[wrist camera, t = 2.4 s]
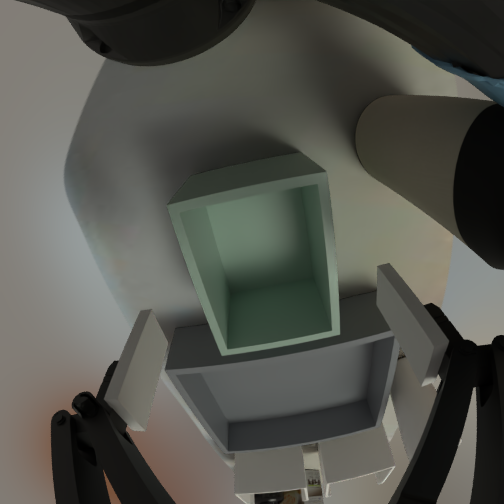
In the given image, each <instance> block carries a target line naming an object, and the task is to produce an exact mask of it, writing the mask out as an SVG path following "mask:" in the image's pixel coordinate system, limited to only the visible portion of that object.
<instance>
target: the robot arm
mask: <svg viewBox="0 0 504 504" xmlns="http://www.w3.org/2000/svg"><path fill="white" fill-rule="evenodd" d="M16 1H20V2H24V3H27V4H31V5H34V6H38V7H40V8H44V9H47V10H50V11H53V12H55V13H59V14H62V15H64V16H66V17H67V19H68V20H69V22H70V23H71V25H72V26H73V28H74V29H75V31H76V32H77V34H78V35H79V37H80V38H81V39H82V41H83V42H84V43H85V44H86V45H87V46H88V47H89V48H91V49H92V50H93V51H95V52H96V53H98V54H100V55H102V56H103V57H106V58H108V59H111V60H115V61H118V62H121V63H124V64H128V65H134V66H158V65H165V64H170V63H175V62H179V61H182V60H185V59H188V58H191V57H193V56H196V55H198V54H200V53H202V52H204V51H206V50H208V49H210V48H212V47H213V46H215V45H216V44H218V43H220V42H221V41H222V40H224V39H225V38H226V37H228V36H229V35H230V34H231V33H232V32H233V31H234V30H235V29H237V28H238V26H239V25H240V24H241V23H242V22H243V21H244V20H245V18H246V17H247V15H248V14H249V12H250V11H251V9H252V7H253V5H254V3H255V1H256V0H16ZM317 1H319V2H322V3H325V4H328V5H330V6H333V7H336V8H338V9H341V10H343V11H346V12H348V13H350V14H353V15H355V16H357V17H360V18H362V19H364V20H366V21H368V22H370V23H372V24H375V25H377V26H379V27H381V28H383V29H385V30H386V31H388V32H390V33H392V34H394V35H395V36H397V37H399V38H401V39H402V40H404V41H406V42H407V43H409V44H411V46H412V48H413V49H414V50H415V51H417V52H418V53H419V54H420V55H422V56H423V57H425V58H426V59H428V60H429V61H430V62H432V63H434V64H435V65H436V66H438V67H440V68H442V69H444V70H446V71H448V72H450V73H453V74H455V75H458V76H460V77H462V78H464V79H465V80H467V81H468V82H470V83H471V84H472V85H474V86H475V87H476V88H477V89H479V90H480V91H481V92H482V93H484V94H485V95H486V96H488V97H489V98H490V99H492V100H493V101H495V102H496V103H498V104H499V105H501V106H503V107H504V0H317ZM376 305H377V306H378V308H379V310H380V312H381V313H382V315H383V317H384V318H385V320H386V322H387V324H388V325H389V327H390V329H391V331H392V332H393V334H394V336H395V338H396V340H397V341H398V343H399V345H400V347H401V349H402V350H403V352H404V354H405V356H406V358H407V360H408V362H409V364H410V365H411V367H412V369H413V371H414V373H415V375H416V377H417V379H418V381H419V383H420V385H421V387H422V386H425V385H427V384H430V383H432V382H435V380H436V377H437V375H438V374H439V376H440V378H441V382H440V384H439V387H438V389H437V391H436V392H437V395H436V398H435V401H434V404H433V407H432V410H431V413H430V415H429V418H428V421H427V423H426V426H425V429H424V431H423V434H422V436H421V439H420V441H419V443H418V446H417V448H416V450H415V453H414V455H413V457H412V459H411V461H410V464H409V466H408V468H407V470H406V472H405V474H404V476H403V478H402V480H401V482H400V484H399V485H398V487H397V489H396V491H395V493H394V495H393V496H392V498H391V500H390V502H389V503H388V504H436V502H437V499H438V496H439V494H440V492H441V490H442V487H443V485H444V483H445V480H446V478H447V475H448V473H449V470H450V468H451V465H452V462H453V460H454V457H455V454H456V451H457V448H458V445H459V442H460V439H461V435H462V432H463V428H464V425H465V421H466V417H467V413H468V409H469V405H470V401H471V396H472V391H473V388H474V387H476V401H477V442H476V459H475V471H474V480H473V488H472V495H471V500H470V504H504V335H499V336H496V337H495V338H494V339H493V341H492V344H488V345H480V346H477V345H476V344H475V343H474V342H473V341H470V340H464V339H463V338H462V336H461V335H460V334H459V332H458V331H457V330H456V328H455V327H454V326H453V324H452V323H451V322H450V321H449V320H448V318H447V317H446V316H445V315H444V313H443V312H442V310H441V309H440V308H439V307H437V306H436V305H434V304H433V303H429V304H426V305H422V303H421V302H420V301H419V299H418V298H417V297H416V295H415V294H414V293H413V292H412V290H411V289H410V288H409V287H408V285H407V284H406V283H405V282H404V280H403V279H402V278H401V277H400V275H399V274H398V273H397V272H396V271H395V269H394V268H393V267H392V266H391V265H390V263H387V264H383V265H379V266H377V301H376ZM167 346H168V341H167V339H166V337H165V335H164V333H163V331H162V329H161V327H160V325H159V323H158V321H157V319H156V317H155V315H154V313H153V311H152V309H150V310H143V311H140V313H139V315H138V318H137V320H136V322H135V324H134V327H133V329H132V331H131V333H130V336H129V338H128V341H127V343H126V345H125V347H124V350H123V352H122V354H121V357H120V359H119V361H114V362H113V363H112V364H111V365H110V366H109V368H108V370H107V372H106V374H105V377H104V379H103V382H102V384H101V386H100V389H99V392H98V394H97V396H96V398H95V397H94V396H93V395H92V394H91V393H90V392H82V393H79V394H78V395H77V396H76V397H75V398H74V399H73V402H72V408H73V409H74V411H75V412H76V413H77V414H75V415H70V414H69V412H68V411H66V410H60V411H58V412H57V413H55V414H54V416H53V417H52V420H51V450H52V451H51V452H52V470H53V482H54V491H55V499H56V504H111V502H110V499H109V494H108V490H107V486H106V482H105V477H104V472H105V474H106V476H107V478H108V480H109V482H110V483H111V485H112V487H113V489H114V491H115V493H116V494H117V497H118V498H119V500H120V502H121V504H176V503H175V502H174V501H173V499H172V498H171V497H170V495H169V494H168V493H167V491H166V490H165V489H164V487H163V486H162V485H161V483H160V482H159V481H158V479H157V478H156V476H155V475H154V473H153V472H152V470H151V469H150V467H149V466H148V464H147V463H146V461H145V460H144V458H143V457H142V455H141V453H140V452H139V450H138V449H137V447H136V446H135V444H134V442H133V440H132V439H131V437H130V435H129V433H128V432H127V431H126V427H127V425H128V426H129V427H130V428H131V429H132V430H133V431H146V428H147V424H148V419H149V415H150V411H151V407H152V403H153V399H154V395H155V391H156V387H157V383H158V380H159V376H160V372H161V368H162V365H163V361H164V357H165V354H166V350H167ZM103 470H104V472H103Z"/></svg>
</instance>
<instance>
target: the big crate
mask: <svg viewBox="0 0 504 504" xmlns="http://www.w3.org/2000/svg"><path fill="white" fill-rule="evenodd" d="M376 301H377V291H374V292H370V293H365V294H361V295H357V296H353V297H348V298H344V299H340V300H339V313H340V335H336V336H331V337H327V338H322V339H318V340H313V341H308V342H303V343H298V344H293V345H288V346H282V347H277V348H271V349H265V350H259V351H252V352H246V353H239V354H232V355H225V356H222V355H221V353H220V350H219V348H218V345H217V343H216V341H215V338H214V336H213V333H212V331H211V328H210V326H209V324H204V325H197V326H190V327H182V328H176V329H175V333H174V337H173V340H172V344H171V348H170V352H169V355H168V359H167V363H166V367H165V371H166V373H167V375H168V376H169V378H170V379H171V381H172V382H173V384H174V385H175V387H176V389H177V390H178V392H179V393H180V395H181V396H182V398H183V399H184V400H185V402H186V403H187V405H188V406H189V408H190V409H191V411H192V412H193V413H194V415H195V416H196V418H197V419H198V420H199V422H200V423H201V425H202V426H203V427H204V429H205V430H206V431H207V433H208V434H209V435H210V437H211V438H212V439H213V440H214V442H215V443H216V444H217V446H218V447H219V448H220V449H221V451H222V452H223V453H224V454H232V453H247V452H258V451H267V450H276V449H283V448H290V447H296V446H302V445H308V444H314V443H319V442H324V441H328V440H333V439H337V438H342V437H346V436H350V435H354V434H357V433H361V432H365V431H368V430H372V429H375V428H379V427H380V426H381V423H382V419H383V416H384V413H385V409H386V406H387V402H388V398H389V394H390V390H391V386H392V382H393V378H394V374H395V369H396V365H397V360H398V355H399V350H400V345H399V343H398V341H397V340H396V338H395V336H394V334H393V332H392V331H391V329H390V327H389V325H388V324H387V322H386V320H385V318H384V317H383V315H382V313H381V312H380V310H379V308H378V306H377V305H376Z"/></svg>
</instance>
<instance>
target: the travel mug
mask: <svg viewBox="0 0 504 504" xmlns="http://www.w3.org/2000/svg"><path fill="white" fill-rule="evenodd" d="M355 142H356V150H357V154H358V156H359V159H360V161H361V163H362V165H363V167H364V168H365V169H366V171H367V172H368V173H369V174H370V175H371V176H372V177H374V178H375V179H376V180H378V181H379V182H381V183H383V184H384V185H386V186H387V187H389V188H390V189H392V190H393V191H395V192H396V193H398V194H399V195H401V196H402V197H404V198H405V199H406V200H408V201H409V202H411V203H412V204H414V205H415V206H416V207H418V208H419V209H421V210H422V211H423V212H425V213H426V214H427V215H429V216H430V217H431V218H433V219H434V220H435V221H437V222H438V223H439V224H441V225H442V226H443V227H444V228H446V229H447V230H448V231H450V232H451V233H452V234H453V235H455V236H456V237H457V238H458V239H460V240H461V241H462V242H463V243H464V244H466V245H467V246H468V247H469V248H470V249H472V250H473V251H474V252H475V253H476V254H477V255H478V256H480V257H481V258H482V259H483V260H484V261H485V262H486V263H487V264H489V265H490V266H491V267H493V268H496V269H501V270H504V107H503V106H501V105H499V104H498V103H496V102H495V101H487V100H479V99H470V98H460V97H447V96H426V95H388V96H383V97H380V98H378V99H376V100H375V101H373V102H372V103H370V104H369V105H368V106H367V107H366V109H365V110H364V111H363V113H362V114H361V116H360V118H359V121H358V124H357V127H356V134H355Z"/></svg>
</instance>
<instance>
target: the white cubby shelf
mask: <svg viewBox="0 0 504 504" xmlns="http://www.w3.org/2000/svg"><path fill="white" fill-rule="evenodd" d="M318 454H319V460H320V466H321V473H322V479H323V485H324V492H325V497H330V496H331V490H330V484H332V483H337V482H341V481H346V480H350V479H353V478H358V477H362V476H365V475H368V474H372V473H375V476H376V480H377V484H381V483H384V481H385V480H386V479H387V477H388V476H389V474H390V473H391V472H392V470H393V469H394V467H395V466H396V465H395V462H394V458H393V455H392V451H391V448H390V445H389V442H388V439H387V436H386V432H385V429H384V426H383V423H381V426H380V427H379V428H375V429H372V430H368V431H365V432H361V433H357V434H354V435H350V436H346V437H342V438H337V439H333V440H328V441H324V442H319V443H318ZM234 483H235V484H234V491H235V492H234V494H235V495H236V496H237V497H238V498H239V499H241V500H242V501H243V502H244V503H245V504H255V503H254V494H258V493H271V492H281V491H290V490H297V489H301V493H302V501H308V500H309V499H308V491H307V483H306V475H305V467H304V459H303V452H302V446H296V447H290V448H283V449H276V450H267V451H258V452H247V453H235V482H234Z"/></svg>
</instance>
